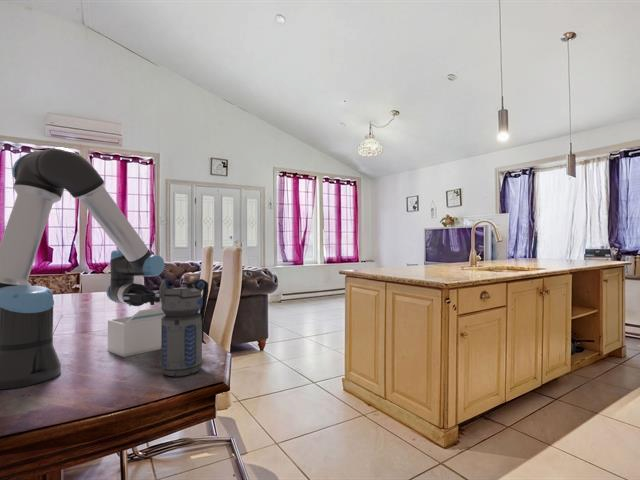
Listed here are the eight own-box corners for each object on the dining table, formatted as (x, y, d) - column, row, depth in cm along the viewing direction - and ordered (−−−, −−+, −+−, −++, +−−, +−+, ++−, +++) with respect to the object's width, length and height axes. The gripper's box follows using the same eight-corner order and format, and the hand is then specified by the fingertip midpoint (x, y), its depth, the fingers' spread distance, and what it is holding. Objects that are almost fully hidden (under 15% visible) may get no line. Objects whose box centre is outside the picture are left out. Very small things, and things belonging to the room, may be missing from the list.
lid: (140, 310, 102) (140, 312, 102) (192, 303, 115) (193, 305, 115) (124, 322, 109) (124, 324, 108) (175, 314, 122) (176, 316, 121)
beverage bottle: (217, 368, 98) (216, 277, 98) (168, 382, 88) (168, 280, 89) (199, 361, 105) (198, 275, 105) (152, 372, 95) (152, 278, 96)
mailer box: (107, 350, 117) (107, 320, 117) (155, 340, 129) (155, 312, 130) (123, 357, 109) (123, 324, 110) (173, 346, 122) (173, 316, 122)
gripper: (152, 302, 130) (187, 309, 115) (113, 307, 120) (146, 315, 105) (152, 282, 130) (187, 285, 115) (113, 285, 120) (145, 289, 105)
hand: (167, 299), depth 110 cm, fingers closed
